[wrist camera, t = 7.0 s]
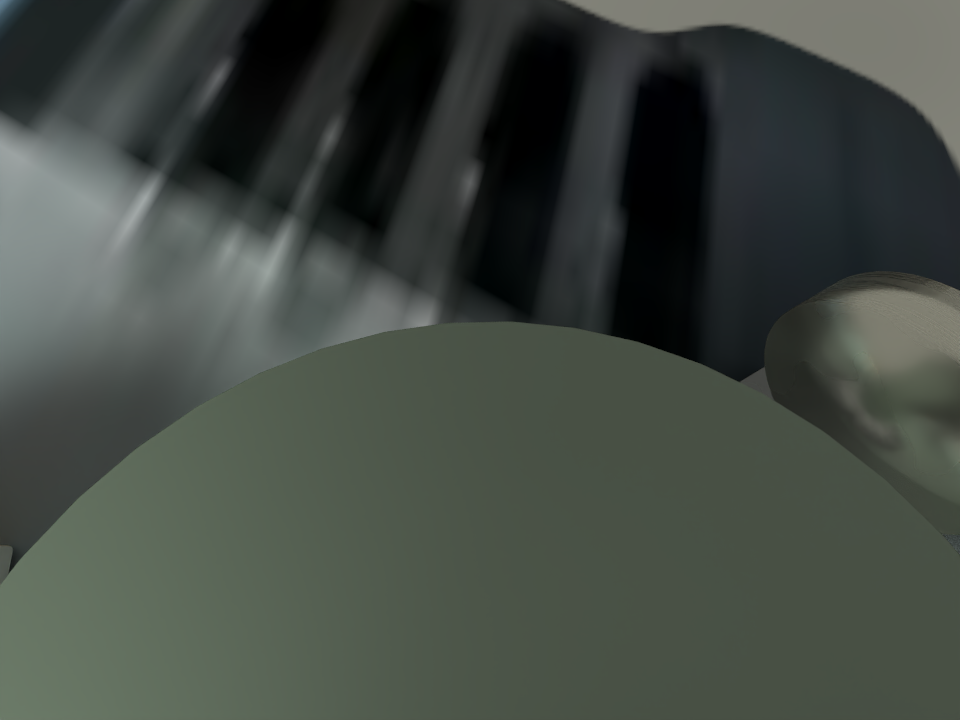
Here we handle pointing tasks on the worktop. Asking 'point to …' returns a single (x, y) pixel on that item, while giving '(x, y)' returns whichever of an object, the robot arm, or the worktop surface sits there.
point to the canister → (486, 551)
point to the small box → (5, 561)
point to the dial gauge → (879, 380)
